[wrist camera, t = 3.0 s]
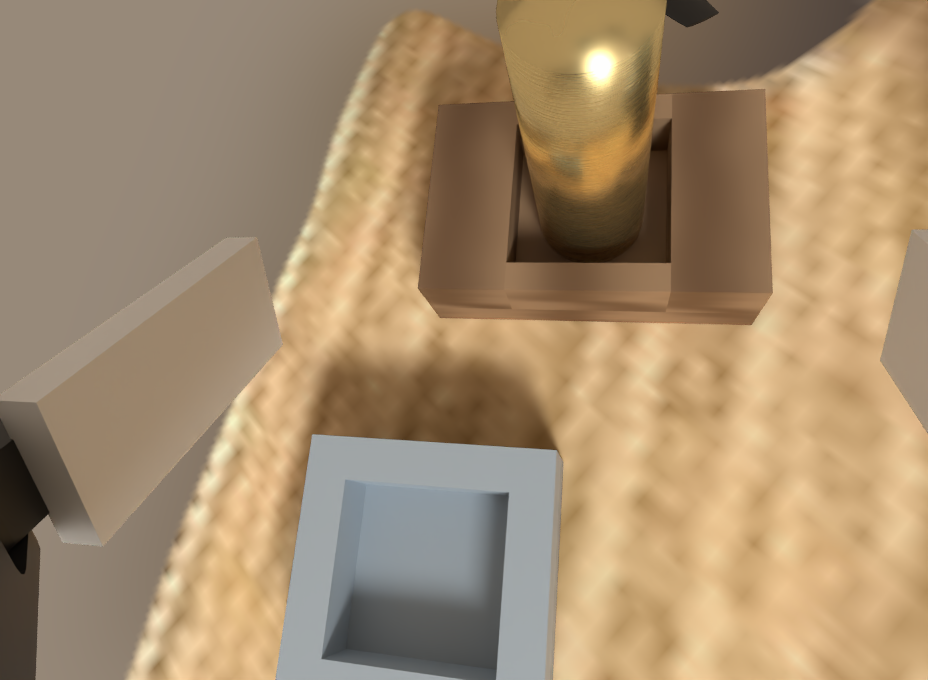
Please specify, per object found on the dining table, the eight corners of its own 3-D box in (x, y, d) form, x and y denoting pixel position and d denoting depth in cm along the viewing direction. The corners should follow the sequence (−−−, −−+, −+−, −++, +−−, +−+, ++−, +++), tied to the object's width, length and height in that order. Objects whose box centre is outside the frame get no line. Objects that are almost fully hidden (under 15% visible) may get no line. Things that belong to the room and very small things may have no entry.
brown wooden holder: (746, 142, 32) (765, 89, 28) (751, 324, 29) (772, 292, 25) (457, 152, 35) (439, 104, 31) (440, 317, 32) (417, 288, 28)
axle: (617, 156, 31) (624, -92, 19) (660, 238, 30) (697, 26, 17) (525, 196, 31) (473, -23, 19) (562, 279, 30) (531, 99, 18)
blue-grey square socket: (563, 461, 29) (556, 450, 25) (550, 717, 26) (541, 746, 23) (347, 447, 31) (312, 434, 28) (316, 681, 29) (272, 702, 25)
